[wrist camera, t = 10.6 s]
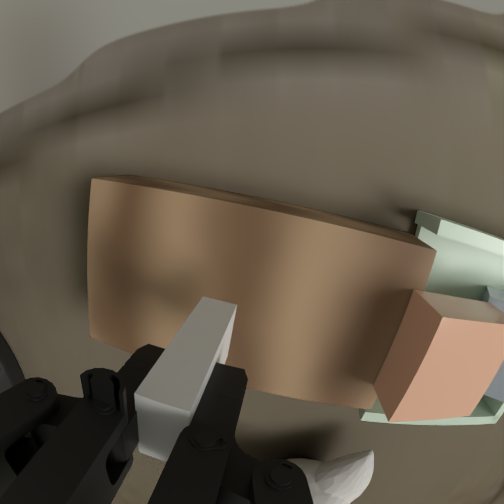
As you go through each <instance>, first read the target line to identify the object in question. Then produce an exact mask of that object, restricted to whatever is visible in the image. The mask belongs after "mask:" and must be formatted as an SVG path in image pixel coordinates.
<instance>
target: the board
mask: <svg viewBox="0 0 504 504" xmlns="http://www.w3.org/2000/svg"><path fill="white" fill-rule="evenodd" d="M436 253H437V251H436V250H435V249H434V248H432V247H431V246H429V245H428V244H426V243H425V242H423V241H422V240H420V239H419V238H417V237H415V236H414V235H412V234H410V233H406V232H403V231H399V230H395V229H391V228H387V227H384V226H380V225H376V224H372V223H368V222H364V221H360V220H356V219H352V218H348V217H344V216H340V215H335V214H331V213H327V212H322V211H318V210H314V209H309V208H305V207H300V206H296V205H291V204H287V203H282V202H277V201H273V200H268V199H263V198H258V197H253V196H248V195H243V194H238V193H233V192H227V191H222V190H217V189H211V188H206V187H200V186H195V185H189V184H183V183H177V182H171V181H165V180H159V179H153V178H146V177H140V176H133V175H120V176H109V177H99V178H92V180H91V191H90V203H89V219H88V243H87V288H88V313H89V328H90V337H92V338H94V339H97V340H99V341H101V342H104V343H106V344H109V345H112V346H114V347H117V348H119V349H122V350H125V351H127V352H130V353H134V352H135V351H136V350H137V349H138V348H140V347H142V346H144V345H146V344H151V345H155V346H158V347H161V348H164V349H166V348H167V346H168V345H169V343H170V342H171V340H172V339H173V338H174V336H175V335H176V333H177V332H178V331H179V329H180V328H181V326H182V325H183V324H184V322H185V321H186V319H187V318H188V317H189V315H190V314H191V312H192V311H193V310H194V308H195V307H196V305H197V304H198V303H199V301H200V300H201V298H202V297H203V296H204V297H208V298H212V299H216V300H220V301H224V302H228V303H233V304H237V308H236V313H235V319H234V324H233V330H232V335H231V340H230V346H229V351H228V356H227V359H226V362H225V365H229V366H233V367H237V368H241V369H244V370H245V372H246V375H247V378H248V382H247V386H246V388H249V389H254V390H258V391H263V392H267V393H272V394H276V395H281V396H286V397H291V398H297V399H302V400H308V401H313V402H320V403H326V404H332V405H339V406H346V407H354V408H362V409H371V408H372V406H373V404H374V402H375V401H376V399H377V394H376V392H375V390H374V387H373V384H374V382H375V380H376V378H377V376H378V374H379V372H380V370H381V368H382V366H383V363H384V361H385V359H386V357H387V355H388V352H389V350H390V348H391V346H392V343H393V341H394V339H395V336H396V334H397V332H398V329H399V327H400V324H401V322H402V319H403V317H404V314H405V312H406V309H407V306H408V304H409V301H410V298H411V296H412V293H413V290H414V289H415V290H421V291H424V289H425V287H426V284H427V281H428V278H429V275H430V272H431V269H432V266H433V262H434V259H435V256H436Z"/></svg>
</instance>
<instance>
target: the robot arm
mask: <svg viewBox="0 0 504 504" xmlns="http://www.w3.org/2000/svg"><path fill="white" fill-rule="evenodd" d="M236 308H237V304H233V303H228V302H224V301H220V300H216V299H212V298H208V297H204V296H203V297H202V298H201V300H200V301H199V303H198V304H197V305H196V307H195V308H194V310H193V311H192V312H191V314H190V315H189V317H188V318H187V319H186V321H185V322H184V324H183V325H182V326H181V328H180V329H179V331H178V332H177V333H176V335H175V336H174V338H173V339H172V340H171V342H170V343H169V345H168V346H167V348H166V349H164V348H161V347H158V346H155V345H151V344H146V345H144V346H142V347H140V348H138V349H137V350H136V351H135V352H134V353H133V355H132V356H131V357H130V359H128V361H127V362H126V363H125V365H124V366H123V367H122V368H121V369H120V370H119V371H118V373H116V372H114V371H113V370H109V369H105V368H94V369H90V370H87V371H85V372H84V373H82V374H81V375H80V378H81V383H82V389H83V394H84V397H83V398H76V397H71V396H66V395H61V394H57V391H56V388H55V386H54V385H53V384H52V383H51V382H50V381H48V380H46V379H43V378H39V377H37V378H29V379H26V380H25V379H24V376H23V374H22V371H21V369H20V367H19V365H18V363H17V361H16V359H15V357H14V355H13V353H12V351H11V350H10V348H9V346H8V345H7V343H6V341H5V340H4V338H3V337H2V335H1V334H0V504H111V502H112V501H113V499H114V497H115V495H116V493H117V491H118V489H119V488H120V486H121V484H122V482H123V480H124V478H125V477H126V475H127V473H128V471H129V469H130V467H131V466H132V462H133V454H132V453H133V451H134V449H135V448H136V446H137V444H138V446H139V452H141V453H143V454H146V455H149V456H151V457H154V458H157V459H160V460H163V461H166V465H165V467H164V469H163V471H162V473H161V476H160V478H159V480H158V482H157V484H156V487H155V489H154V491H153V493H152V495H151V497H150V500H149V502H148V504H314V503H313V499H312V496H311V492H310V488H309V485H308V481H307V478H306V476H305V474H304V472H303V470H302V469H301V468H300V467H299V466H297V465H296V464H295V463H293V462H290V461H288V460H285V459H277V458H275V459H269V460H265V461H263V462H261V461H259V460H257V459H255V458H253V457H251V456H249V455H248V454H246V453H245V452H243V451H242V450H241V449H240V448H239V446H238V444H237V443H236V440H235V430H236V426H237V422H238V418H239V414H240V410H241V406H242V402H243V398H244V394H245V390H246V386H247V382H248V378H247V375H246V372H245V370H244V369H241V368H237V367H233V366H229V365H225V362H226V359H227V356H228V351H229V346H230V340H231V335H232V330H233V324H234V319H235V313H236Z"/></svg>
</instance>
